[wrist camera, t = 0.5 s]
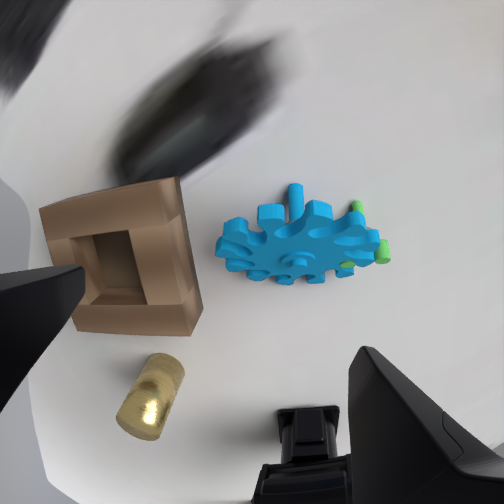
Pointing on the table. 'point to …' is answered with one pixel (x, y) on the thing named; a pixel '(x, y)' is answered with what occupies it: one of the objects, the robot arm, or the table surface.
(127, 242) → the socket block
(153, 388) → the pin
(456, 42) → the table surface
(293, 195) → the gear
